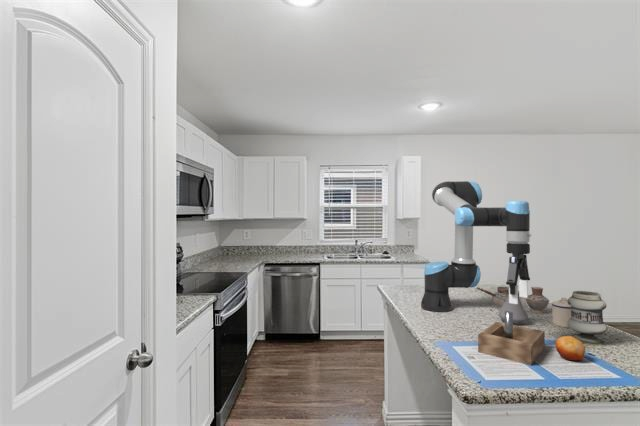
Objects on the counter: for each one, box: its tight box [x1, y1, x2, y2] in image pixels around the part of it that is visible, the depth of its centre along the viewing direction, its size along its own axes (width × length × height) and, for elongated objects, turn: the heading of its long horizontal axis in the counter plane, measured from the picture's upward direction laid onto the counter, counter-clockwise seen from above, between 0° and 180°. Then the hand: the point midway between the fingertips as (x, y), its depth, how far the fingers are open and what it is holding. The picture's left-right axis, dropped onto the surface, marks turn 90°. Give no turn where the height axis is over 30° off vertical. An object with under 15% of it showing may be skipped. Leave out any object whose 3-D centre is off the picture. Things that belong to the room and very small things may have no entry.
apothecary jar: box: [567, 290, 609, 346], centre depth 132 cm, size 12×12×18 cm
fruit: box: [555, 335, 586, 361], centre depth 116 cm, size 8×8×8 cm
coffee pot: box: [475, 286, 529, 326], centre depth 156 cm, size 21×12×15 cm, turn 80°
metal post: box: [504, 311, 513, 339], centre depth 120 cm, size 4×4×14 cm
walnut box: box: [477, 321, 546, 366], centre depth 123 cm, size 16×20×6 cm
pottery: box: [491, 286, 550, 314], centre depth 175 cm, size 11×25×12 cm, turn 69°
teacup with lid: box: [551, 297, 571, 329], centre depth 152 cm, size 12×9×12 cm
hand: (518, 300), depth 129 cm, fingers open, 13 cm apart
